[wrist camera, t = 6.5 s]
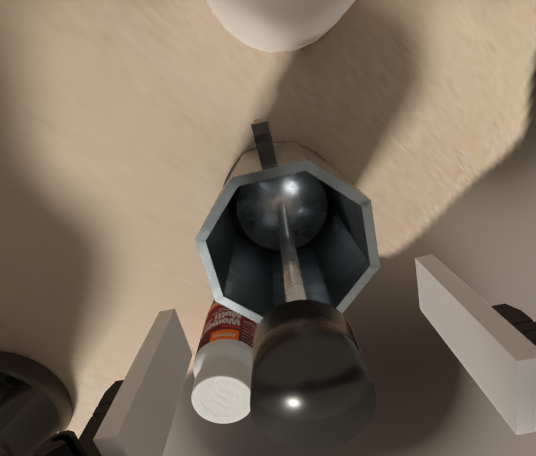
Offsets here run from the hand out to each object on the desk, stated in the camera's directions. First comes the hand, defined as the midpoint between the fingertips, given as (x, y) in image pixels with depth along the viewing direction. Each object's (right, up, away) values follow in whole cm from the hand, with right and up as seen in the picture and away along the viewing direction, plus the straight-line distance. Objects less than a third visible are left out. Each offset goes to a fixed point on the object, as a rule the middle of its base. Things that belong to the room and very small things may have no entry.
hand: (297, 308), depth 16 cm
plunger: (0, +6, +16) cm, 17 cm away
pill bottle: (-5, -6, +23) cm, 24 cm away
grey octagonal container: (0, +7, +17) cm, 19 cm away
